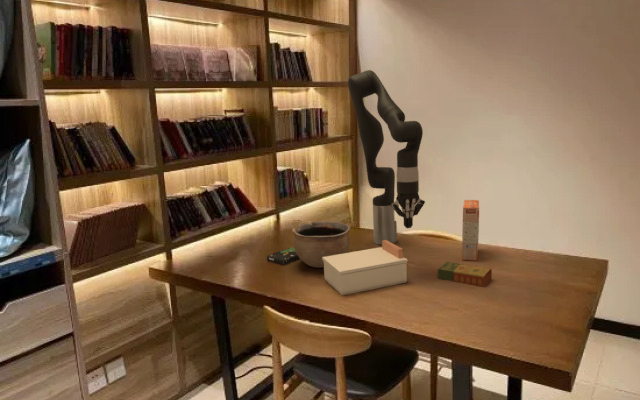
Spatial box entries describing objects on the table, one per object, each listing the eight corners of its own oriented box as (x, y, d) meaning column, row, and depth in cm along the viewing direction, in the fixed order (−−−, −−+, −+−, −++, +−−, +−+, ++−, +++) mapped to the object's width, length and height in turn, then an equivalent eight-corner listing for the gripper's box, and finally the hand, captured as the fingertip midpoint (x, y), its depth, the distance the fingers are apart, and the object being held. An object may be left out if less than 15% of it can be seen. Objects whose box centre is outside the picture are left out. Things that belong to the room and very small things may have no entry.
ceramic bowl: (317, 252, 199) (315, 217, 196) (361, 260, 186) (360, 223, 183) (283, 268, 181) (280, 231, 178) (330, 278, 169) (328, 238, 166)
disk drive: (284, 267, 185) (310, 256, 195) (283, 260, 184) (309, 250, 195) (266, 262, 192) (293, 252, 202) (266, 255, 191) (292, 246, 202)
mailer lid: (385, 249, 175) (384, 238, 174) (407, 262, 160) (407, 250, 159) (322, 259, 167) (321, 248, 166) (339, 274, 152) (339, 262, 151)
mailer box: (384, 268, 176) (384, 250, 175) (406, 282, 161) (406, 263, 160) (324, 279, 168) (323, 260, 167) (341, 295, 154) (340, 275, 152)
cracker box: (478, 261, 178) (479, 207, 173) (461, 260, 180) (462, 207, 175) (478, 250, 191) (479, 199, 186) (463, 249, 192) (463, 199, 188)
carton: (483, 288, 154) (484, 275, 153) (437, 279, 164) (437, 267, 163) (491, 279, 161) (491, 267, 160) (446, 271, 170) (446, 260, 169)
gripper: (418, 176, 169) (418, 223, 173) (385, 179, 165) (386, 227, 169) (430, 178, 162) (430, 227, 166) (395, 182, 158) (396, 232, 162)
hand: (408, 227), depth 167 cm, fingers closed
